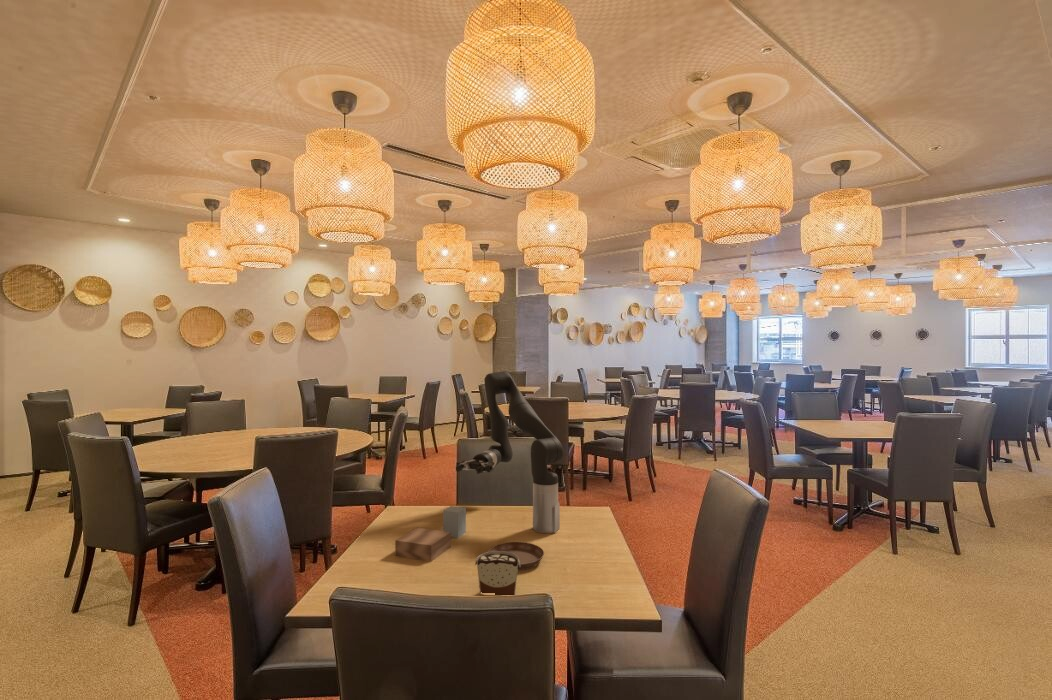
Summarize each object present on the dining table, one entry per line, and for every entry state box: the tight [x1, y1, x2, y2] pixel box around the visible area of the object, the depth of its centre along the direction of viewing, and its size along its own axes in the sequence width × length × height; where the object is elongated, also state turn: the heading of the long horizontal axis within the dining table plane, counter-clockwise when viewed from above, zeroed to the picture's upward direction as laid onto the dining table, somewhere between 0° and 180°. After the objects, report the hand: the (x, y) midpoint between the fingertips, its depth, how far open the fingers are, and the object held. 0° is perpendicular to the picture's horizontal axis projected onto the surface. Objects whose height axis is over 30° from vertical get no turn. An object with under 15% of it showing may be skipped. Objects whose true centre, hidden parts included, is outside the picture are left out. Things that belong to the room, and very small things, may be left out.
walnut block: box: [394, 527, 452, 562], centre depth 175 cm, size 13×13×5 cm
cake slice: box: [474, 551, 520, 596], centre depth 147 cm, size 12×6×10 cm, turn 84°
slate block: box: [442, 505, 467, 539], centre depth 192 cm, size 6×6×9 cm
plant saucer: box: [487, 541, 545, 571], centre depth 168 cm, size 18×18×3 cm
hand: (467, 470), depth 202 cm, fingers open, 8 cm apart
